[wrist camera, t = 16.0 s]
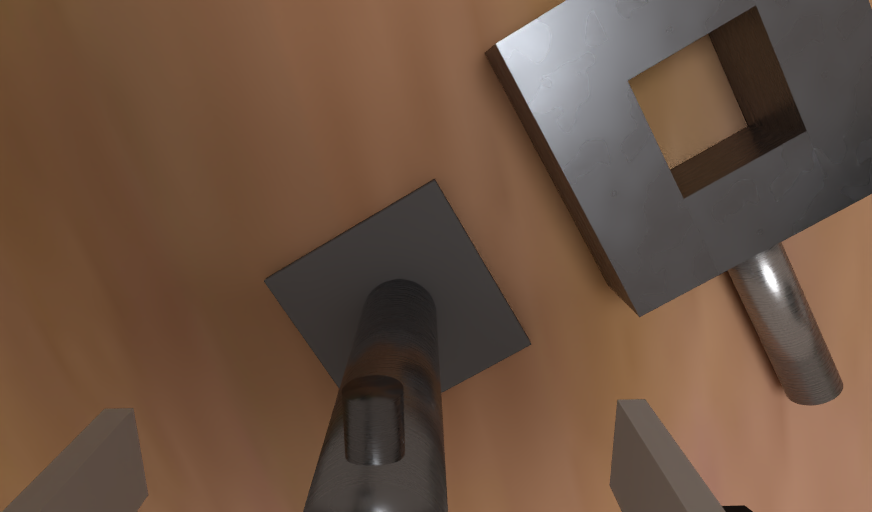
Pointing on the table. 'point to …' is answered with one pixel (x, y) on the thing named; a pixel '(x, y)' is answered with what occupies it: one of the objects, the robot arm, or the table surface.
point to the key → (387, 412)
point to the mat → (411, 260)
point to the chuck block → (713, 168)
